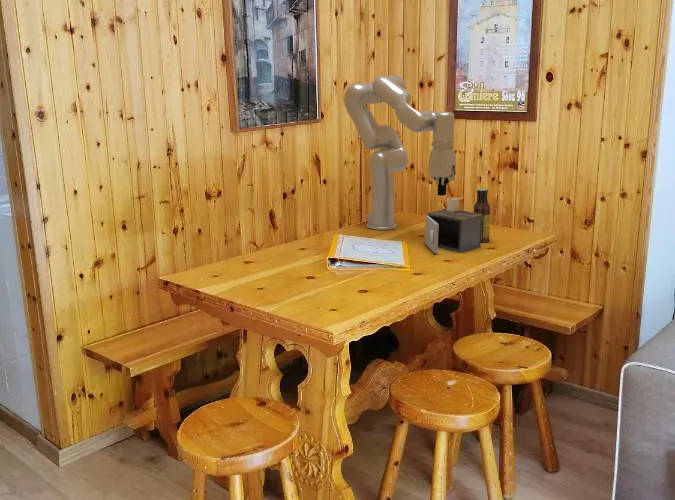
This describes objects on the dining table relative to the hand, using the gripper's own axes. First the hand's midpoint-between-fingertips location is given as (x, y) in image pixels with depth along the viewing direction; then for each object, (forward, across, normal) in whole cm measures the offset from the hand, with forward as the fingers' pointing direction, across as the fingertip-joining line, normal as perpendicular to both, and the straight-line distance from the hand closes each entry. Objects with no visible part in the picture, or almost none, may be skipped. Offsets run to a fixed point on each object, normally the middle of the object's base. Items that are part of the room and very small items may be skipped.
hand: (441, 195), depth 268 cm
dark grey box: (+18, +8, -3) cm, 20 cm away
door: (+17, +6, -14) cm, 23 cm away
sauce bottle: (+18, +10, +11) cm, 23 cm away
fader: (+6, +5, 0) cm, 8 cm away
